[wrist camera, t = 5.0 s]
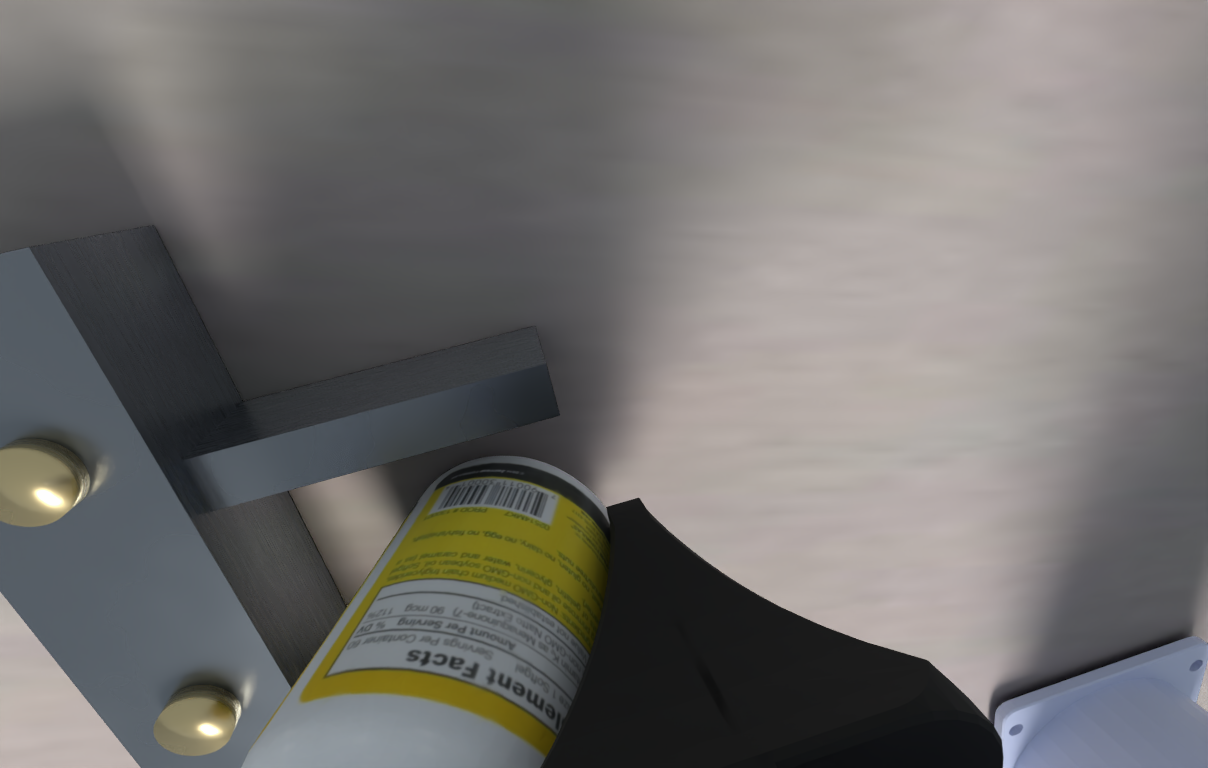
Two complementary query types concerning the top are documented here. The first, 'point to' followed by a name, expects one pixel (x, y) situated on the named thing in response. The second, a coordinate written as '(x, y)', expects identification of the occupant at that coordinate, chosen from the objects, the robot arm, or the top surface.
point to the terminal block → (193, 489)
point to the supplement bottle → (458, 631)
